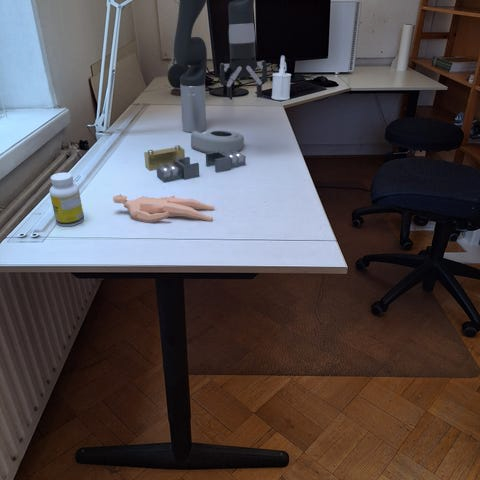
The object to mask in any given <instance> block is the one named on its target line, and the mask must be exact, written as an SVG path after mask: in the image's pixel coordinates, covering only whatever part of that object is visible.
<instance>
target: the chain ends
mask: <svg viewBox="0 0 480 480" xmlns="http://www.w3.org/2000/svg"><path fill="white" fill-rule="evenodd" d="M173 161H174V164H172V163H167V164H166V165H163V164H160V165H158V167H156V169H157V170H156V178H158V179H159V180H160V181H162V183H169V182H172V181H173V182H174V181H177V180H182V179H183V180H184V181H185V180H189V179H194V178H198V177H200V163H198V162H195V163H191V158H190V156H185V158H179V159H174V160H173ZM205 166H206V167H211V166H212V167H215V169H214V170H215V171H214V172H215V173H217V174H218V173H221V172H227V171H230V170H232V169H235V168H239V167H244V166H246V155H244V154H242V153H240V151H238V152H237V151H235V150H232V151H231V152H225V153H222V152H221V151H216V152H211V153H205Z"/></svg>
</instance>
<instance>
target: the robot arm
mask: <svg viewBox="0 0 480 480" xmlns="http://www.w3.org/2000/svg"><path fill="white" fill-rule="evenodd" d="M206 3H207V0H179V5H178V6H179V7H178V17H177V23H176V29H175V35H174V41H173V57H174V60H175V62H176V64H177V63H178V64H179V65H181V66H187V65H188V66H189V67H190V68H189V70H188V71H187V72H186V73H184V74H183V75H182V76H181V77H180V88H181V96H180V101H181V122H182V123H181V125H182V131H184V132H187V133H192V132H193V131H198V132H200V133H202V132H205V131H206V130H207V113H206V111H207V110H206V77H207V70H208V69H207V64H208V63H207V62H208V59H207V58H208V52H207V46H206V45H207V44H206V42H205V40H204V39H203V38H202V37H200V36H192V35H193V34H192V33H193V28H194V27H195V26H194V25H195V23H196V21H197V20H198V17H199V16H200V15H201V12H203V9H204V7H205V6H206ZM254 3H255V0H232V1H230V2H229V3H228V11H227V12H228V24H229V25H228V43H229V44H228V45H229V46H228V47H229V59H230V60H229V63H223V62H221V63H220V64H219V74H220V75H219V77H220V79H219V81H220V85H221V86H225V87H226V95H227V98H228V99H229V100H230V101H231V100H233V89H232V84H233V83H234V82H235V80H236V78H238V79H242V78H247V79H248V78H250V77H252V78H253V79H254V81H255V82H256V98H261V96H262V95H263V89H262V88H263V87H262V85H263V84H264V83H267V82H268V67H267V62H266V61H265V60H264V59H263V60H260V61H257V59H256V36H255V35H256V33H255V32H256V31H255V26H254ZM257 67H259V69H260V70H261V78H260V77H259V76H258V75H257V74H256V73H255V71H256V69H257ZM228 69H230V71H231V72H232V73H231V74H230V76H229V78H228V80H225V79H226V78H225V75H226V74H225V73H226V72H227V71H228Z"/></svg>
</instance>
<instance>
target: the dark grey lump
mask: <svg viewBox="0 0 480 480" xmlns="http://www.w3.org/2000/svg"><path fill="white" fill-rule="evenodd" d="M189 68H190V65H187V66H181V65H179V64H178V63H177V62H176V63H174V64H173V65H172V66H170V68H169V69H168V71H167V80H168V83H169V84H170V86H171V87H172V88H173V89H171V91H170V94H171V96H175V97H181V88H180V77H181V76H182V75H183V74H184V73H186V72H187V71H188V70H189Z"/></svg>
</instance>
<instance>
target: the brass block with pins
mask: <svg viewBox="0 0 480 480" xmlns="http://www.w3.org/2000/svg"><path fill="white" fill-rule="evenodd" d="M185 153H186V152H185V149H184V147H181V145H175V146H174V147H168V148H164V149H157V150H154V149H149V150H147V151H145V152H143V155H144V163H145V164H144V166H145V168H146V169H147V170H148V171H150V172H151V171H157V169H156V167H158V165H160V164H163V165H166V164H167V163H172V164H174V161H173V160H174V159H179V158H185V157H186V154H185Z"/></svg>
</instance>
